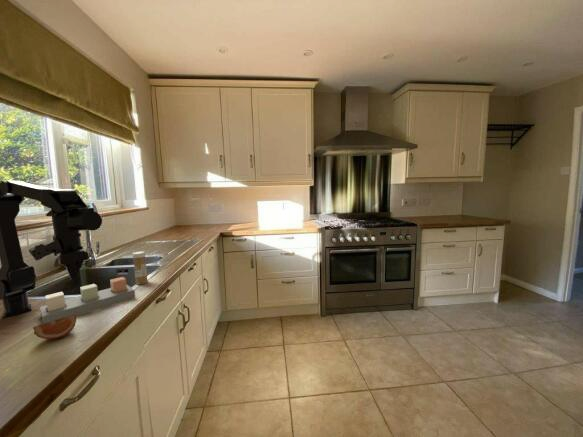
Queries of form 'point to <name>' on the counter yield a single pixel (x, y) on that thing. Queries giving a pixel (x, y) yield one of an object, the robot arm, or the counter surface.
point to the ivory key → (55, 301)
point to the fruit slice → (56, 328)
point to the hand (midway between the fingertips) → (73, 279)
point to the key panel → (86, 304)
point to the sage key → (89, 292)
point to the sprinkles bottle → (140, 267)
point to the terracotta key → (118, 284)
